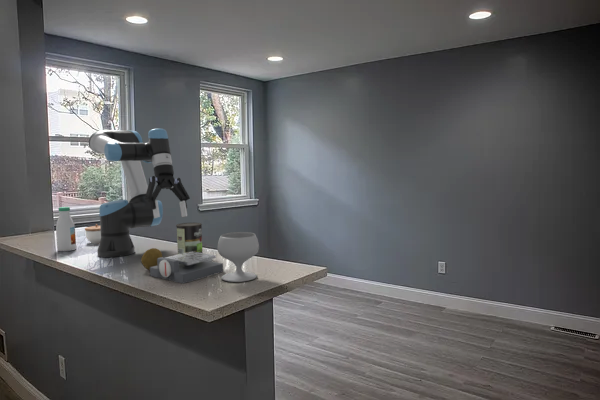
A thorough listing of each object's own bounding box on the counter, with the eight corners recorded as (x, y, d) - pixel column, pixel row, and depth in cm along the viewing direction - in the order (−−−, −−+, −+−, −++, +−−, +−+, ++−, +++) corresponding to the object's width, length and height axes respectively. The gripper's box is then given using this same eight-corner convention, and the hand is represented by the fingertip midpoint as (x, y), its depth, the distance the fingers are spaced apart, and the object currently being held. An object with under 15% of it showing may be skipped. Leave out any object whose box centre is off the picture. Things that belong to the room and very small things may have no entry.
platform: (163, 260, 154) (163, 257, 154) (192, 253, 164) (192, 251, 164) (187, 265, 146) (187, 262, 146) (215, 258, 157) (215, 255, 157)
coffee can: (206, 255, 185) (205, 222, 183) (196, 260, 175) (195, 226, 173) (184, 254, 187) (183, 222, 185) (173, 259, 177) (171, 225, 175)
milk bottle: (66, 252, 195) (63, 208, 194) (53, 251, 198) (50, 208, 196) (80, 248, 203) (77, 206, 201) (67, 247, 205) (64, 206, 203)
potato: (164, 266, 166) (163, 245, 165) (161, 271, 158) (160, 250, 158) (145, 267, 165) (144, 246, 164) (141, 272, 157) (140, 251, 156)
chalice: (224, 272, 155) (223, 231, 154) (263, 272, 154) (262, 231, 152) (213, 283, 141) (211, 238, 140) (255, 284, 140) (253, 238, 138)
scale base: (148, 276, 152) (147, 257, 151) (190, 265, 167) (189, 247, 166) (181, 284, 141) (180, 263, 141) (223, 271, 156) (222, 253, 156)
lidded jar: (80, 244, 215) (79, 225, 214) (96, 240, 225) (95, 222, 224) (98, 244, 212) (97, 226, 211) (113, 240, 222) (112, 222, 221)
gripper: (142, 160, 163) (150, 215, 159) (192, 165, 183) (201, 214, 180) (130, 166, 167) (138, 220, 163) (181, 170, 187) (189, 218, 184)
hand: (171, 217), depth 172 cm, fingers open, 13 cm apart
